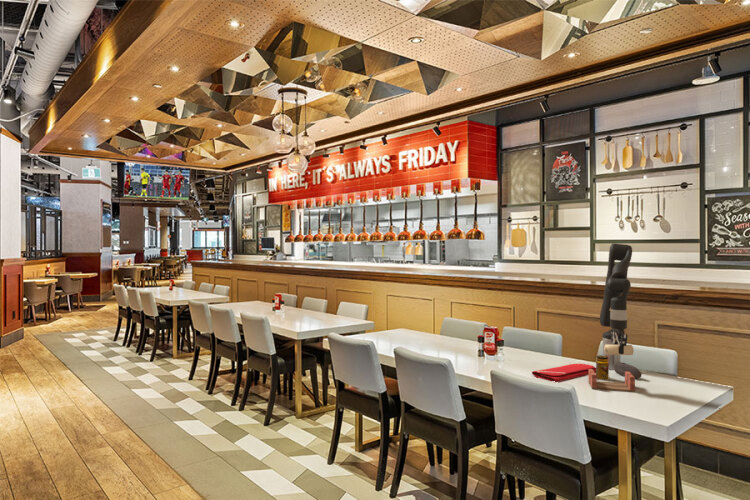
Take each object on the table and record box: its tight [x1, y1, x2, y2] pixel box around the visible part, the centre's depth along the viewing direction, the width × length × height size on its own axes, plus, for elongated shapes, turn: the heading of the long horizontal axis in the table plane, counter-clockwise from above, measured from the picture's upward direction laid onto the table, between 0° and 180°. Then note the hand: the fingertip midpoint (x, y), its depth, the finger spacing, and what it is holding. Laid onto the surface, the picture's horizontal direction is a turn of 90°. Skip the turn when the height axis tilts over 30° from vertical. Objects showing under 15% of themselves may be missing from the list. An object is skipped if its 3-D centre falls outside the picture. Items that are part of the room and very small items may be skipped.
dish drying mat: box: [531, 363, 596, 383], centre depth 265 cm, size 16×41×4 cm, turn 124°
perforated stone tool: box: [614, 361, 642, 380], centre depth 258 cm, size 15×5×7 cm, turn 22°
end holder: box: [587, 369, 636, 393], centre depth 238 cm, size 12×19×7 cm, turn 74°
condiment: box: [595, 354, 610, 382], centre depth 255 cm, size 7×8×12 cm
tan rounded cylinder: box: [604, 344, 635, 356], centre depth 237 cm, size 12×5×5 cm, turn 87°
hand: (618, 352), depth 237 cm, fingers closed on tan rounded cylinder, 5 cm apart
